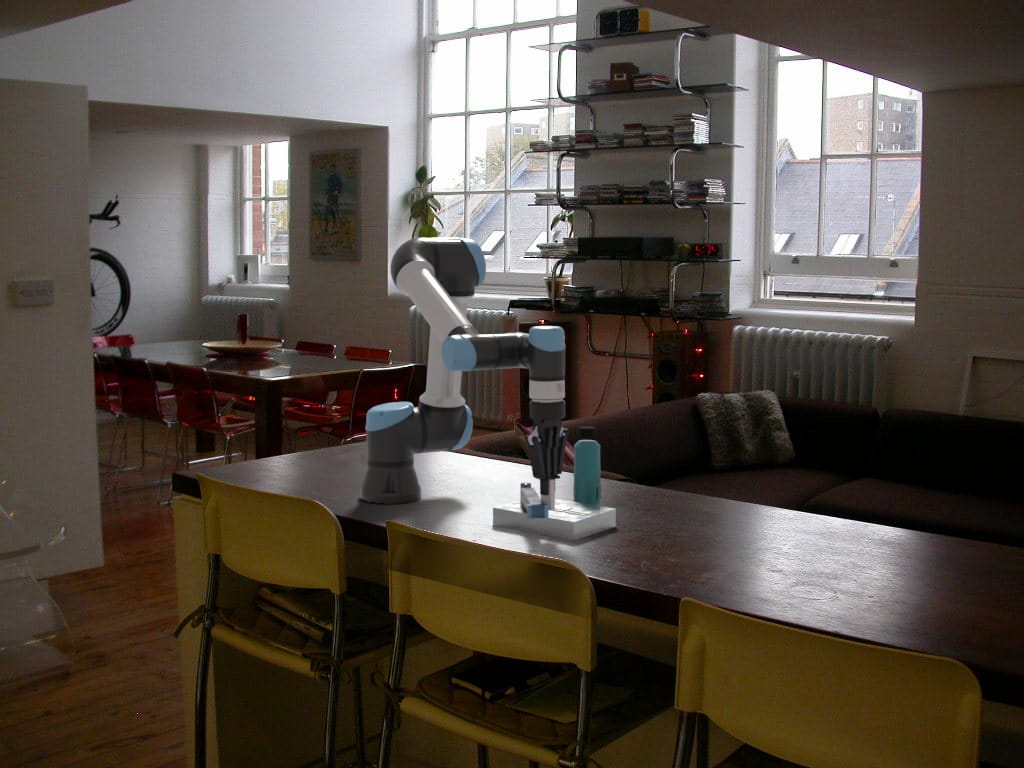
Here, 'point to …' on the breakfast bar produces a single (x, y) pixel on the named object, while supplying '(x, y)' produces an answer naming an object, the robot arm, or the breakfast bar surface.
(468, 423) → the robot arm
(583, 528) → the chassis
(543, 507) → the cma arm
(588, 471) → the beverage bottle
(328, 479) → the breakfast bar surface
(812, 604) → the breakfast bar surface
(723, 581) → the breakfast bar surface
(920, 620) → the breakfast bar surface
